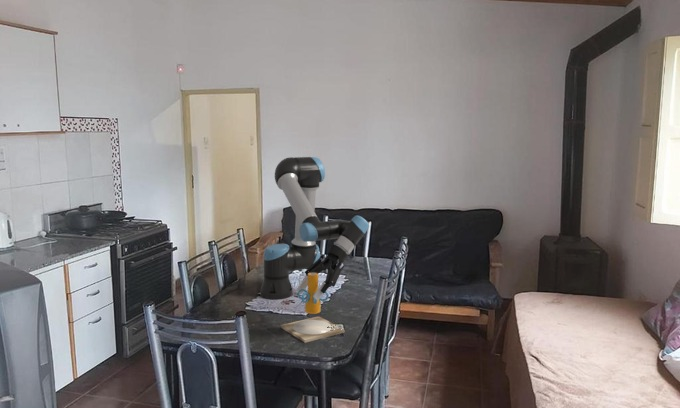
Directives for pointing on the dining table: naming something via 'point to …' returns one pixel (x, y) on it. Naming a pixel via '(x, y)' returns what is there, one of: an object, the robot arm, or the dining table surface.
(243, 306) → the dining table surface
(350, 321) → the dining table surface
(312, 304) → the orange post with rings
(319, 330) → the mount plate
